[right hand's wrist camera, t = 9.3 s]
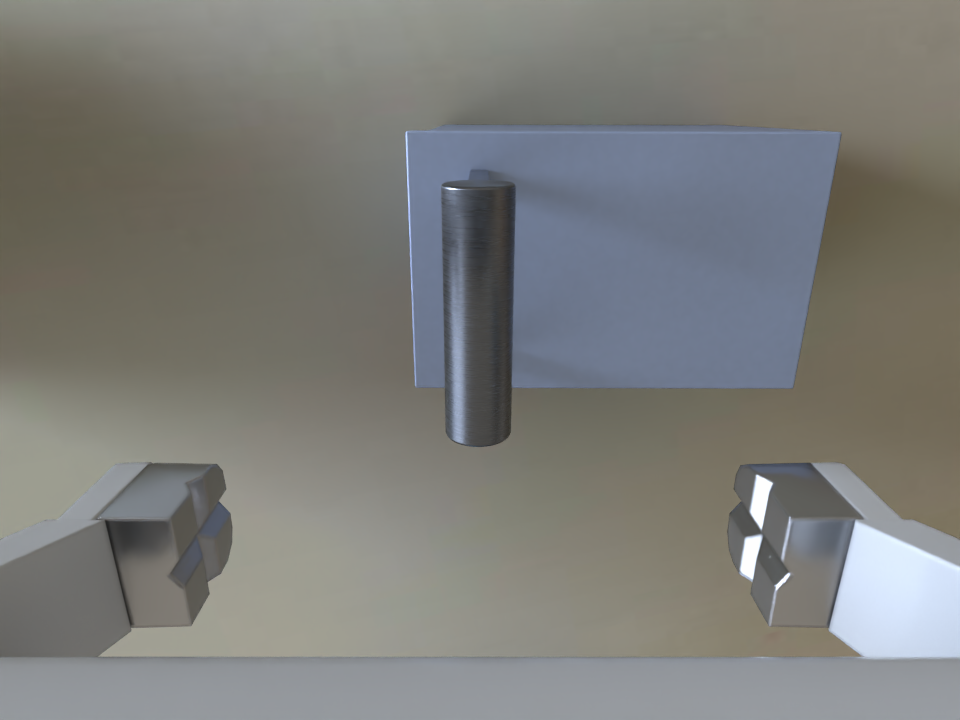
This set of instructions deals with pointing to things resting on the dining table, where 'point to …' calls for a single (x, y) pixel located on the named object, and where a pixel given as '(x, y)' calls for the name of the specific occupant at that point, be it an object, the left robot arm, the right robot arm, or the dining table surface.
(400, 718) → the right robot arm
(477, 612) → the dining table surface
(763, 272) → the lid
